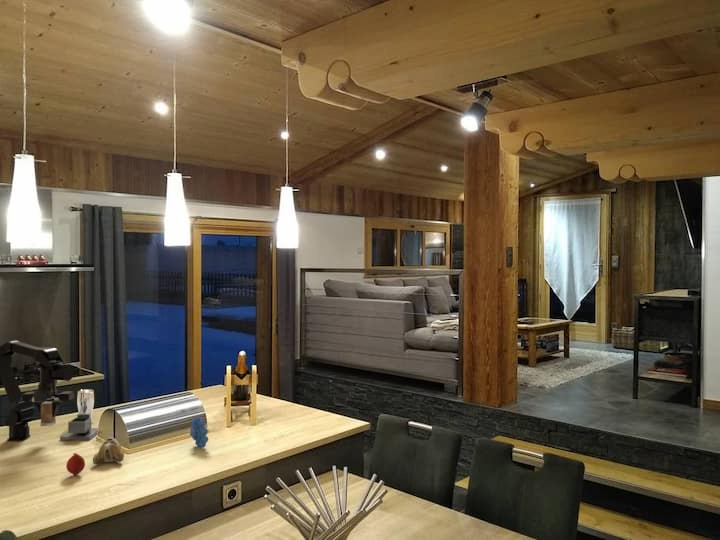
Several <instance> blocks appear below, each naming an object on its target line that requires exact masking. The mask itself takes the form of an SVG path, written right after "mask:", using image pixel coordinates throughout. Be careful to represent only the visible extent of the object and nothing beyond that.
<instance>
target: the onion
mask: <svg viewBox="0 0 720 540" xmlns="http://www.w3.org/2000/svg"><path fill="white" fill-rule="evenodd" d="M85 466H86V462H85V459H84V457H82V456H81V455H79V454H78V453H77V452H73V455H72V456H70V457H69V459H68V460H67V462H66V470H67V472H68V473H70V474H72V475H73V476H78V475H79V474H80V473H81V472H83V470H85V469H84V468H85Z"/></svg>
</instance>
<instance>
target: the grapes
mask: <svg viewBox="0 0 720 540" xmlns="http://www.w3.org/2000/svg"><path fill="white" fill-rule="evenodd" d="M191 424H192V425H191V427H190V432H189V435H190V436H191V438H192V440H194V441H195V442H194V443H195V445H196V446H197V447H200V448H205V447H206V445H207V443H208V441H209V437H208V436H207V435H208V433H209V430H208V429H207V427H205V426H206V424H207V423H206V422H205V420H203V419H202V417H200V416H196V417H195V418H194V417H193V419H192V420H191Z"/></svg>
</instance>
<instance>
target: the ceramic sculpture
mask: <svg viewBox="0 0 720 540" xmlns="http://www.w3.org/2000/svg"><path fill="white" fill-rule="evenodd" d="M121 449H122V445H121V444H120V442H119V440H118V439H116V438H114V437H113V436H112V435H111V436H109V437H108V438H107V439H105V440H104V441H103V443H102V444H101V446H100V447H99V450H98V452H97V453H95V454H94V456H93V457H92V463H93V464H94V465H99V464H101V463H102V462H103V463H112V462H114V461H115V462H117V463H120V462H123V461H124V457H125V453H124V451H121Z"/></svg>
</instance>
